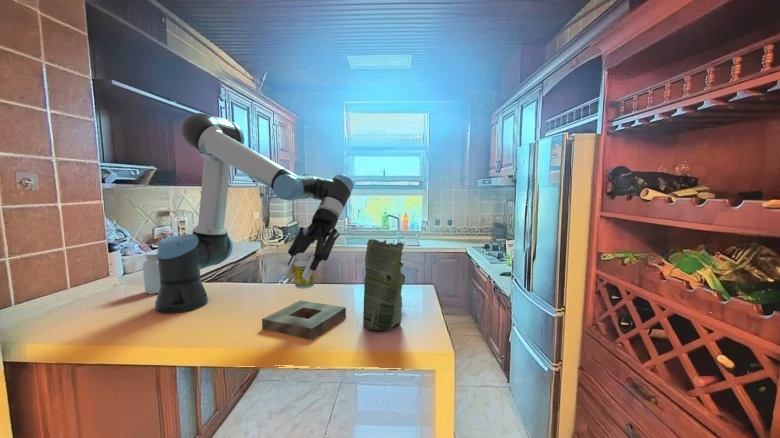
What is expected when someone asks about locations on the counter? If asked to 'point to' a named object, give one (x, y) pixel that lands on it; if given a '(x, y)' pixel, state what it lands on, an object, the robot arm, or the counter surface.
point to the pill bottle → (151, 273)
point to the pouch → (383, 285)
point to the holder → (296, 325)
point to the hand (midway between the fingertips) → (295, 278)
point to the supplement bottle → (299, 269)
